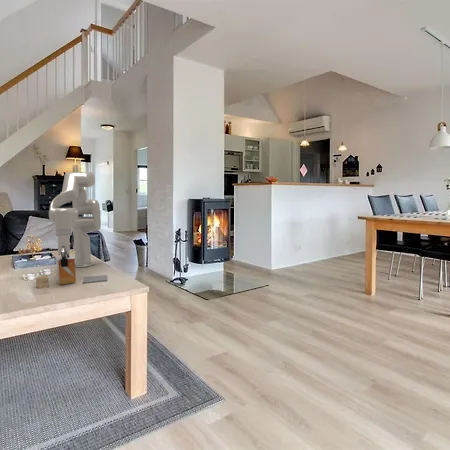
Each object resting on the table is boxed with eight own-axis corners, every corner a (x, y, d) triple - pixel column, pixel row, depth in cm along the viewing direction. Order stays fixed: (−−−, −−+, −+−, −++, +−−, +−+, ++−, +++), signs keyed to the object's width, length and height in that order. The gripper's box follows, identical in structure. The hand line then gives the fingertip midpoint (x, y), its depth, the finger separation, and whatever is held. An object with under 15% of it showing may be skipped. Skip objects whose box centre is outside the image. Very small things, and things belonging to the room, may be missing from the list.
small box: (59, 285, 177) (57, 260, 176) (57, 282, 182) (56, 258, 181) (76, 282, 181) (74, 258, 180) (74, 280, 187) (72, 256, 185)
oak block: (36, 286, 176) (36, 276, 176) (47, 284, 179) (46, 275, 178) (37, 288, 172) (37, 278, 171) (49, 286, 175) (48, 277, 174)
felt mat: (84, 278, 191) (83, 276, 191) (106, 275, 195) (106, 274, 195) (82, 283, 180) (82, 282, 180) (107, 281, 184) (107, 280, 184)
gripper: (57, 231, 186) (59, 262, 187) (53, 234, 170) (55, 268, 171) (73, 230, 188) (74, 261, 190) (70, 233, 172) (72, 267, 173)
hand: (65, 265), depth 180 cm, fingers open, 9 cm apart
